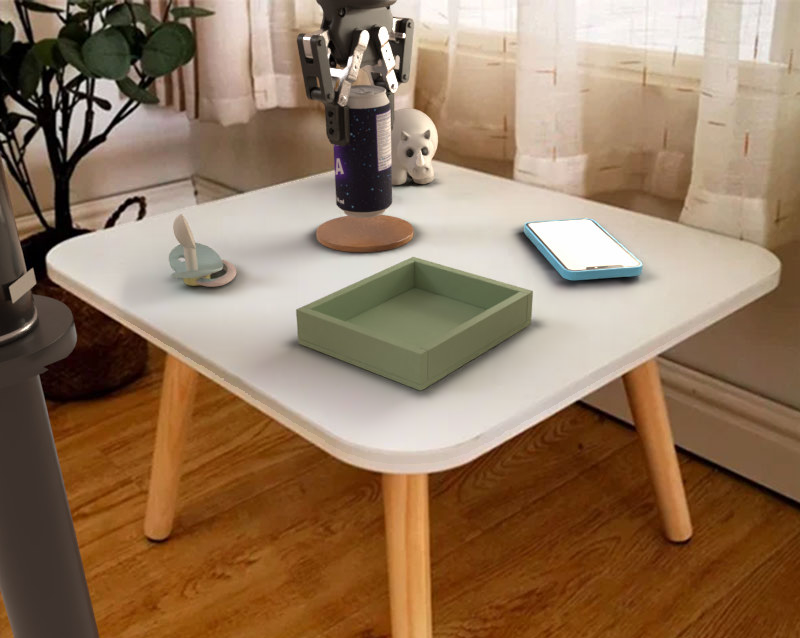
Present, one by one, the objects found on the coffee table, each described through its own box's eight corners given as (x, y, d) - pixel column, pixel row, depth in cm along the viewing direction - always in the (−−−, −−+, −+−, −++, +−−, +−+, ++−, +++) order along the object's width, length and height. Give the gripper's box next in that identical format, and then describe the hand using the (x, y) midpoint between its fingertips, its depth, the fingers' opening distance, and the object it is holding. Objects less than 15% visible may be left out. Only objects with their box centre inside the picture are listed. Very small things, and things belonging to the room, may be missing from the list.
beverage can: (367, 199, 99) (363, 81, 93) (403, 211, 96) (402, 89, 90) (325, 211, 96) (318, 90, 90) (361, 224, 92) (356, 99, 87)
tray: (420, 391, 68) (420, 354, 67) (298, 343, 75) (295, 309, 74) (531, 324, 78) (533, 290, 76) (413, 287, 85) (413, 256, 84)
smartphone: (591, 217, 98) (646, 266, 85) (590, 228, 99) (644, 278, 86) (521, 222, 98) (566, 272, 84) (521, 233, 98) (565, 284, 85)
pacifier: (232, 262, 91) (169, 267, 90) (227, 199, 88) (162, 203, 87) (241, 291, 85) (173, 296, 84) (236, 224, 82) (166, 229, 81)
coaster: (369, 259, 91) (369, 254, 91) (296, 238, 97) (296, 232, 96) (433, 232, 98) (433, 226, 97) (361, 213, 103) (361, 208, 103)
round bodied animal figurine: (387, 203, 106) (385, 127, 102) (374, 174, 117) (372, 103, 112) (450, 200, 107) (451, 124, 103) (431, 170, 117) (432, 100, 113)
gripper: (376, -59, 91) (380, 118, 99) (267, -49, 81) (281, 147, 90) (437, -57, 87) (436, 129, 95) (329, -45, 77) (339, 160, 85)
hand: (361, 137), depth 92 cm, fingers closed on beverage can, 5 cm apart
